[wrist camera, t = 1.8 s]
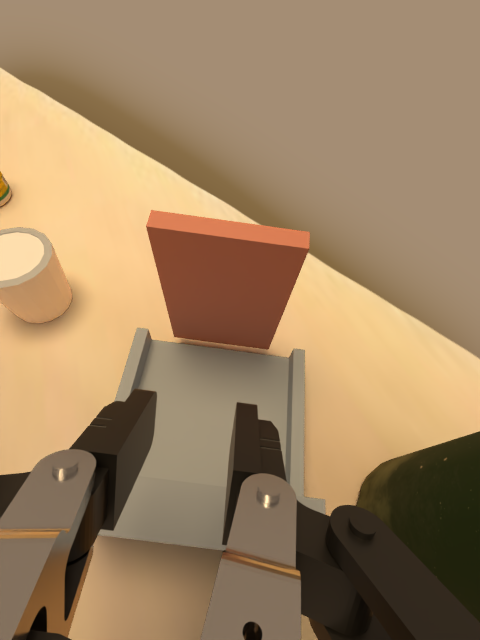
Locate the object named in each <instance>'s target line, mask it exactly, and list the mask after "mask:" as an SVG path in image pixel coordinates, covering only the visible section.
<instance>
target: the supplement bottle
mask: <svg viewBox="0 0 480 640" xmlns="http://www.w3.org/2000/svg"><path fill="white" fill-rule="evenodd" d="M10 197H11V189H10V187H9V185H8V183H7V181H6V180H5V178H4V176H3V175H2V173H1V172H0V206H2V205H4V204H5V203H6V202H7V201H8V200H9V199H10Z"/></svg>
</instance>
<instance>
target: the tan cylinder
mask: <svg viewBox="0 0 480 640" xmlns="http://www.w3.org/2000/svg"><path fill="white" fill-rule="evenodd" d="M71 301H72V291H71V288H70V286H69V283H68V281H67V279H66V276H65V274H64V272H63V269H62V267H61V265H60V262H59V260H58V257H57V255H56V253H55V250H54V248H53V246H52V243H51V242H50V241H49V239H48V238H47V237H46V235H45V234H43V233H41V232H39V231H37V230H34V229H30V228H21V227H17V228H10V229H4V230H0V303H1V304H3V305H4V306H5V307H6V308H8V309H9V310H10V311H11V312H13V313H14V314H15V315H16V316H18V317H19V318H21V319H23V320H24V321H26V322H29V323H44V322H48V321H52V320H53V319H55V318H57V317H59V316H61V315H62V314H63V313H64V312H65V311H66V310H67V309H68V308H69V306H70V303H71Z"/></svg>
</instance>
